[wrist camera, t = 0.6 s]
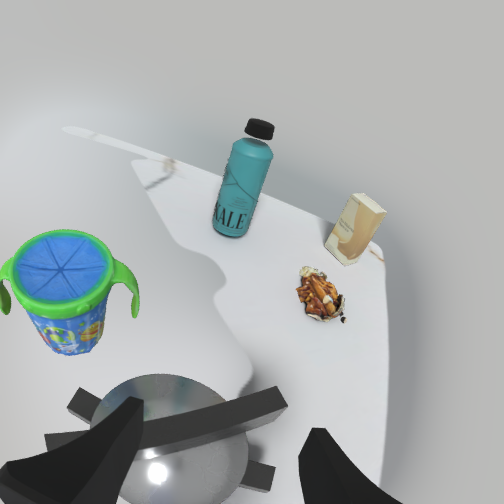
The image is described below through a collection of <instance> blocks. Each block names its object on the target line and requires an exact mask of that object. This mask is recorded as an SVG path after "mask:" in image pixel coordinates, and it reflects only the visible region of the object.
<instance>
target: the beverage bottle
mask: <svg viewBox="0 0 504 504" xmlns="http://www.w3.org/2000/svg"><path fill="white" fill-rule="evenodd" d="M273 132H274V125H272V124H270V123H269V122H266V121H263V120H260V119H249V121H248V123H247V126H246V128H245V133H247V134H248V135H250V136H253V137H255V138H259V139H263V140H271V139H272V137H273ZM272 159H273V153H272V151H271V149H270V147H269V146H268V145H267V144H266V143H264V142H262V141H260V140H257V139H253V138H242V139H240V140H238V141H236V142H234V143H233V147H232V151H231V154H230V157H229V161H228V164H227V167H226V171H225V175H224V179H223V182H222V185H221V188H220V189H221V190H220V193H219V194H218V195H219V197H217V198H218V200H217V203H216V204H215V207H216V208H215V209H214V210H215V212H214V214H213V220H212V221H213V226H214V227H215V228H216V229H217V230H218V231H219V232H221V233H223V234H225V235H229V236H241V235H244V234H245V233H246V232H247V230H248V229H249V225H251V224H250V222H251V219H252V216H253V213H254V210H255V207H256V204H257V202H258V197H259V194H260V192H261V189H262V186H263V183H264V180H265V177H266V174H267V172H268V169H269V166H270V163H271V160H272Z"/></svg>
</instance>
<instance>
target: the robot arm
mask: <svg viewBox="0 0 504 504" xmlns="http://www.w3.org/2000/svg"><path fill="white" fill-rule="evenodd" d="M143 424H144V400H143V399H139V398H136V397H132V396H129V397H128V398H127V399H126V400H125V401H124V402H122V403H121V404H120V405H119V406H118V407H117V408H116V409H115V410H114V411H113V412H112V413H110V414H109V415H108V416H107V417H106V418H104V419H103V420H102V421H101V422H99V423H98V424H97V425H95V426H94V427H93V428H91V429H90V430H88V431H87V432H86V433H84V434H82V435H81V436H79V437H77V438H76V439H74V440H72V441H70V442H68V443H67V444H64V445H62V446H60V447H58V448H56V449H53V450H51V451H48V452H45V453H42V454H39V455H36V456H33V457H29V458H25V459H20V460H14V461H8V462H6V464H5V465H4V466H3V467H2V468H1V469H0V498H1V499H2V501H3V502H4V503H5V504H116V502H117V499H118V495H119V492H120V490H121V487H122V485H123V482H124V480H125V478H126V476H127V473H128V471H129V469H130V467H131V464H132V462H133V460H134V458H135V455H136V453H137V451H138V448H139V445H140V441H141V438H142V434H143ZM298 460H299V476H300V482H301V487H302V492H303V497H304V502H305V504H402V503H401V502H399V501H397V500H396V499H394V498H392V497H391V496H390V495H388V494H387V493H385V492H384V491H382V490H381V489H380V488H379V487H377V486H376V485H375V484H374V483H373V482H371V481H370V480H369V479H368V478H367V477H366V476H365V475H364V474H363V473H362V472H361V471H360V470H359V469H358V468H357V467H356V466H355V465H354V464H353V463H352V461H351V460H350V459H349V458H348V457H347V456H346V454H345V453H344V452H343V451H342V449H341V448H340V447H339V446H338V444H337V443H336V442H335V440H334V439H333V438H332V436H331V435H330V434H329V432H328V431H327V430H326V428H312V429H311V431H310V433H309V436H308V438H307V440H306V442H305V444H304V446H303V448H302V450H301V452H300V454H299V456H298Z"/></svg>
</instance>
